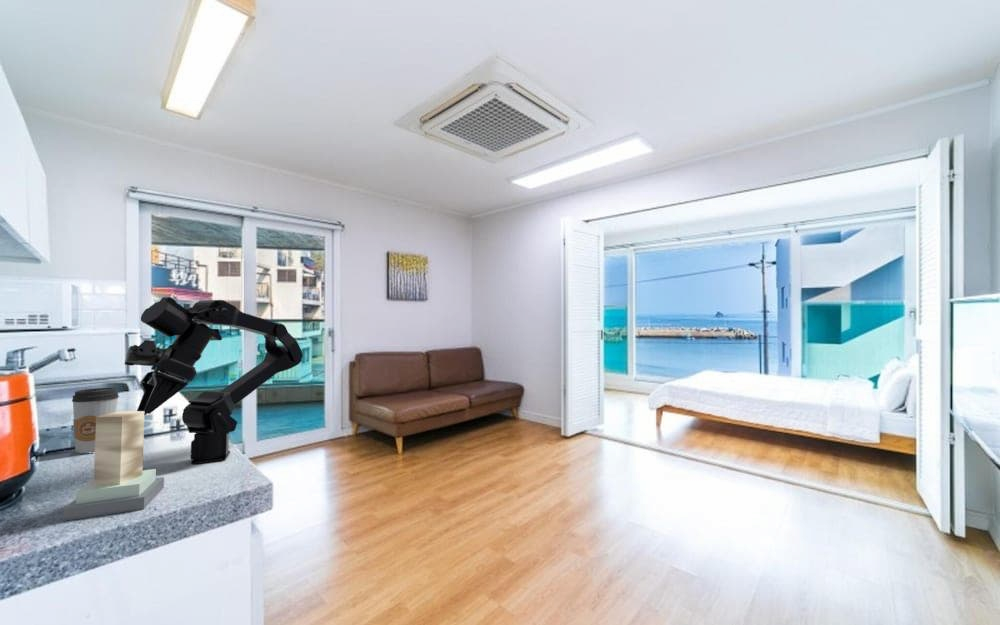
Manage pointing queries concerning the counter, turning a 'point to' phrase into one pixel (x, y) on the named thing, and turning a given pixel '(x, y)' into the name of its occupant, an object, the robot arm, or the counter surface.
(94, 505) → the tower base
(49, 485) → the counter surface
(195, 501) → the counter surface
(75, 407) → the coffee cup
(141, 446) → the pillar
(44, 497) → the counter surface
